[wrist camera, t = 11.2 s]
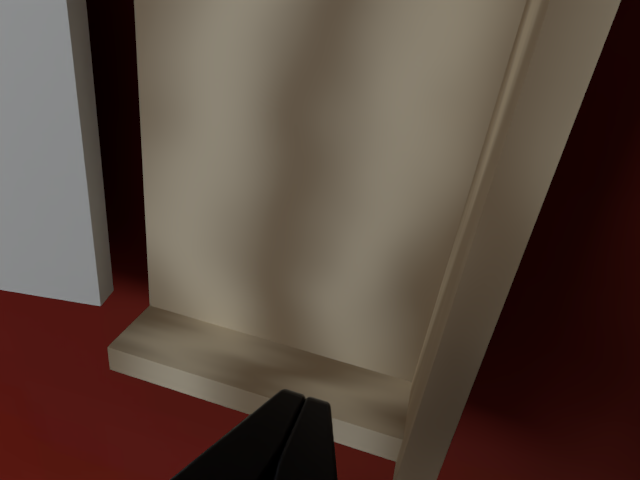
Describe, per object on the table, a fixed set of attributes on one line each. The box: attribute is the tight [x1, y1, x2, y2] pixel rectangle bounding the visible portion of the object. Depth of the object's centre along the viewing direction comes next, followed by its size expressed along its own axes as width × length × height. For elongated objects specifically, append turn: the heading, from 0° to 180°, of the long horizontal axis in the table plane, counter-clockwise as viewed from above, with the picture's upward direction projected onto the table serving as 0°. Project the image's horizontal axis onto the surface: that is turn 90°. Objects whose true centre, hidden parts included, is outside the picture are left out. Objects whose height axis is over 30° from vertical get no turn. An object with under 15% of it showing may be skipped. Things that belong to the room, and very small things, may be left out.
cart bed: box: [108, 0, 621, 480], centre depth 16 cm, size 13×18×6 cm
